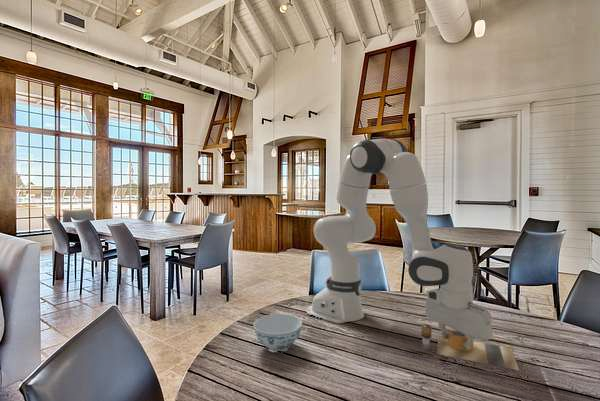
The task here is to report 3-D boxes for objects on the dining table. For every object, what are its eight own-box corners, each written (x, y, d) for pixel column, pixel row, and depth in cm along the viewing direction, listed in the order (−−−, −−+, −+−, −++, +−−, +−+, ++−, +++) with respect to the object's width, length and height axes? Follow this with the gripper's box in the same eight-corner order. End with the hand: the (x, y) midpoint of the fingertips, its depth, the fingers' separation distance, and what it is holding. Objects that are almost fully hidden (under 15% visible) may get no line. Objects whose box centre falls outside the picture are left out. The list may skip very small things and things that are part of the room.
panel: (436, 357, 94) (436, 353, 94) (438, 338, 105) (438, 335, 105) (518, 374, 85) (518, 370, 85) (511, 351, 97) (511, 348, 97)
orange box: (450, 348, 97) (450, 334, 96) (448, 342, 100) (448, 329, 100) (472, 351, 95) (473, 337, 95) (469, 344, 99) (469, 331, 99)
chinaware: (255, 337, 108) (254, 314, 107) (299, 335, 109) (299, 313, 109) (252, 361, 93) (252, 335, 92) (304, 358, 94) (304, 332, 94)
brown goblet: (419, 354, 96) (419, 327, 96) (420, 348, 99) (420, 323, 99) (432, 356, 94) (432, 329, 94) (433, 351, 98) (433, 325, 97)
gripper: (497, 306, 90) (496, 355, 90) (435, 287, 108) (435, 328, 108) (483, 311, 87) (482, 361, 87) (422, 290, 105) (422, 332, 105)
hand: (456, 343), depth 98 cm, fingers closed on orange box, 6 cm apart
